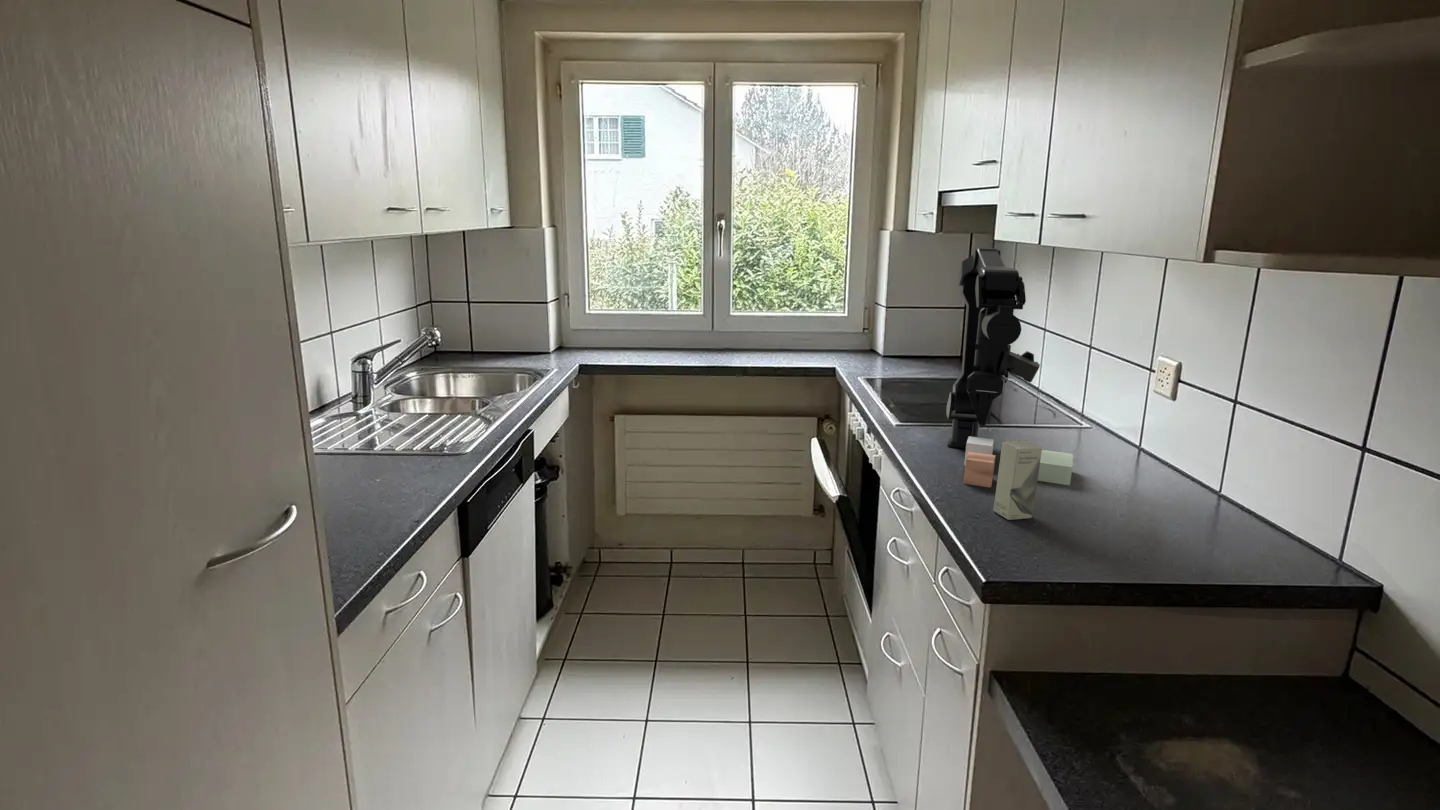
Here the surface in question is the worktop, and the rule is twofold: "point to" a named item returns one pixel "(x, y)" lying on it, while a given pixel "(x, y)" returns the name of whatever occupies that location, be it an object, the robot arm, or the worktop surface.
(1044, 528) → the worktop surface
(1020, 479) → the box
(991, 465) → the terracotta cube
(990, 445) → the grey cube
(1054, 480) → the sage base block
